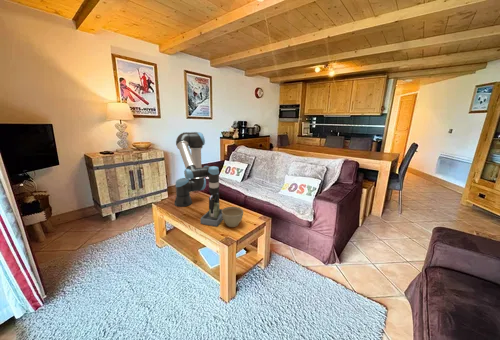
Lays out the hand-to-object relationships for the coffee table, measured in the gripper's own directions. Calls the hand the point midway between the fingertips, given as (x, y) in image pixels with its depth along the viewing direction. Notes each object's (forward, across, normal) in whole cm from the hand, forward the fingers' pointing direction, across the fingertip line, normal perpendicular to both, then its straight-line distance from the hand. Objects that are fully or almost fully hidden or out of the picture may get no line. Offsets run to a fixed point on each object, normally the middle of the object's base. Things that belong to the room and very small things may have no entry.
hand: (214, 214), depth 158 cm
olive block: (+1, 0, 0) cm, 1 cm away
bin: (+4, 0, 0) cm, 4 cm away
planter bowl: (+4, -2, -16) cm, 17 cm away
